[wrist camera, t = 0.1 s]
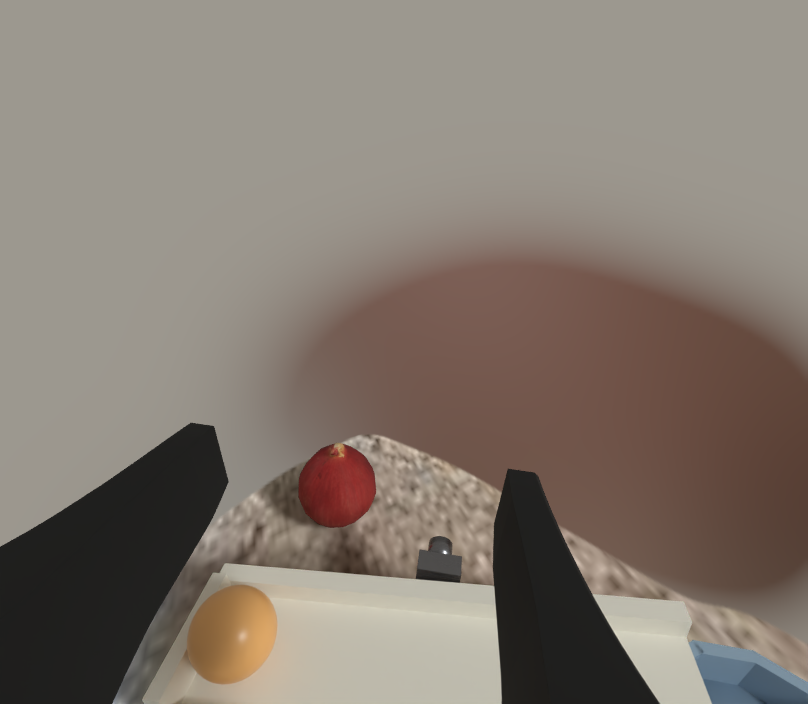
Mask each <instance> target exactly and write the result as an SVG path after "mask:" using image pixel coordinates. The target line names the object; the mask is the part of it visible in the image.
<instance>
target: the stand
mask: <svg viewBox="0 0 808 704" xmlns="http://www.w3.org/2000/svg"><path fill="white" fill-rule="evenodd" d="M461 563H462V557H461V556H455V555H452V542H451V541H450V540H449V539H448V538H446V537H442V536H436V537H433V538H431V539H430V541H429V548H428V551H425V550H420V551H419V559H418V566H417V574H416V579H419V580H430V581H442V582H454V583H460V579H461Z"/></svg>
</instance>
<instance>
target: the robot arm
mask: <svg viewBox="0 0 808 704" xmlns="http://www.w3.org/2000/svg"><path fill="white" fill-rule="evenodd" d="M227 484H228V478H227V474H226V470H225V466H224V462H223V459H222V455H221V451H220V447H219V443H218V440H217V436H216V432H215V428H214V426H210V425H203V424H196V423H190V424H189V425H187V426H186V427H184V428H183V429H181V430H180V431H178V432H177V433H175V434H174V435H173V436H171V437H170V438H168V439H167V440H165V441H164V442H163V443H161V444H160V445H159V446H157V447H155V448H154V449H153V450H151V451H150V452H148V453H147V454H146V455H144V456H143V457H141V458H140V459H139V460H137V461H136V462H134V463H133V464H131V465H130V466H128V467H127V468H126V469H124V470H123V471H121V472H120V473H119V474H117V475H115V476H114V477H113V478H111V479H110V480H108V481H107V482H105V483H104V484H102V485H101V486H99V487H98V488H96V489H95V490H93V491H92V492H90V493H88V494H87V495H85V496H84V497H82V498H81V499H79V500H78V501H76V502H74V503H73V504H72V505H70V506H68V507H67V508H65V509H64V510H62V511H61V512H59V513H57V514H56V515H54V516H53V517H51V518H49V519H48V520H46V521H44V522H43V523H41V524H39V525H38V526H36V527H34V528H33V529H31V530H29V531H28V532H26V533H24V534H22V535H20V536H19V537H17V538H15V539H13V540H11V541H10V542H8V543H6V544H4V545H3V546H1V547H0V704H112V703H113V700H114V698H115V696H116V694H117V692H118V690H119V687H120V685H121V683H122V681H123V679H124V676H125V674H126V672H127V670H128V668H129V666H130V664H131V662H132V660H133V658H134V656H135V654H136V652H137V650H138V648H139V645H140V643H141V641H142V639H143V637H144V635H145V633H146V631H147V629H148V627H149V625H150V624H151V622H152V620H153V618H154V616H155V614H156V613H157V611H158V609H159V607H160V606H161V604H162V602H163V601H164V599H165V597H166V596H167V594H168V592H169V591H170V589H171V587H172V586H173V584H174V582H175V581H176V579H177V577H178V576H179V574H180V572H181V571H182V569H183V567H184V566H185V564H186V562H187V561H188V559H189V557H190V556H191V554H192V553H193V551H194V549H195V547H196V546H197V544H198V542H199V541H200V539H201V537H202V536H203V534H204V532H205V531H206V529H207V527H208V525H209V524H210V522H211V520H212V518H213V516H214V514H215V512H216V509H217V507H218V505H219V503H220V501H221V498H222V496H223V493H224V491H225V489H226V486H227ZM493 576H494V590H495V604H496V617H497V630H498V644H499V657H500V670H501V694H502V704H660V703H659V701H658V700H657V698H656V697H655V695H654V694H653V692H652V691H651V689H650V688H649V686H648V685H647V683H646V682H645V680H644V679H643V677H642V676H641V674H640V673H639V671H638V670H637V668H636V667H635V665H634V664H633V662H632V660H631V659H630V657H629V656H628V654H627V652H626V651H625V649H624V648H623V646H622V645H621V643H620V641H619V640H618V638H617V636H616V635H615V633H614V631H613V630H612V628H611V626H610V625H609V623H608V621H607V619H606V618H605V616H604V614H603V613H602V611H601V609H600V607H599V605H598V604H597V602H596V600H595V598H594V596H593V595H592V593H591V591H590V589H589V587H588V585H587V584H586V582H585V580H584V578H583V576H582V574H581V572H580V570H579V568H578V566H577V564H576V562H575V560H574V558H573V556H572V554H571V552H570V550H569V548H568V546H567V544H566V542H565V540H564V538H563V535H562V533H561V531H560V529H559V527H558V524H557V522H556V520H555V518H554V516H553V513H552V511H551V508H550V506H549V504H548V501H547V499H546V496H545V493H544V491H543V488H542V486H541V483H540V480H539V477H538V476H537V475H536V474H535V473H533V472H526V471H519V470H512V469H508V471H507V474H506V479H505V483H504V487H503V490H502V494H501V498H500V502H499V506H498V510H497V514H496V518H495V522H494V544H493Z"/></svg>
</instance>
